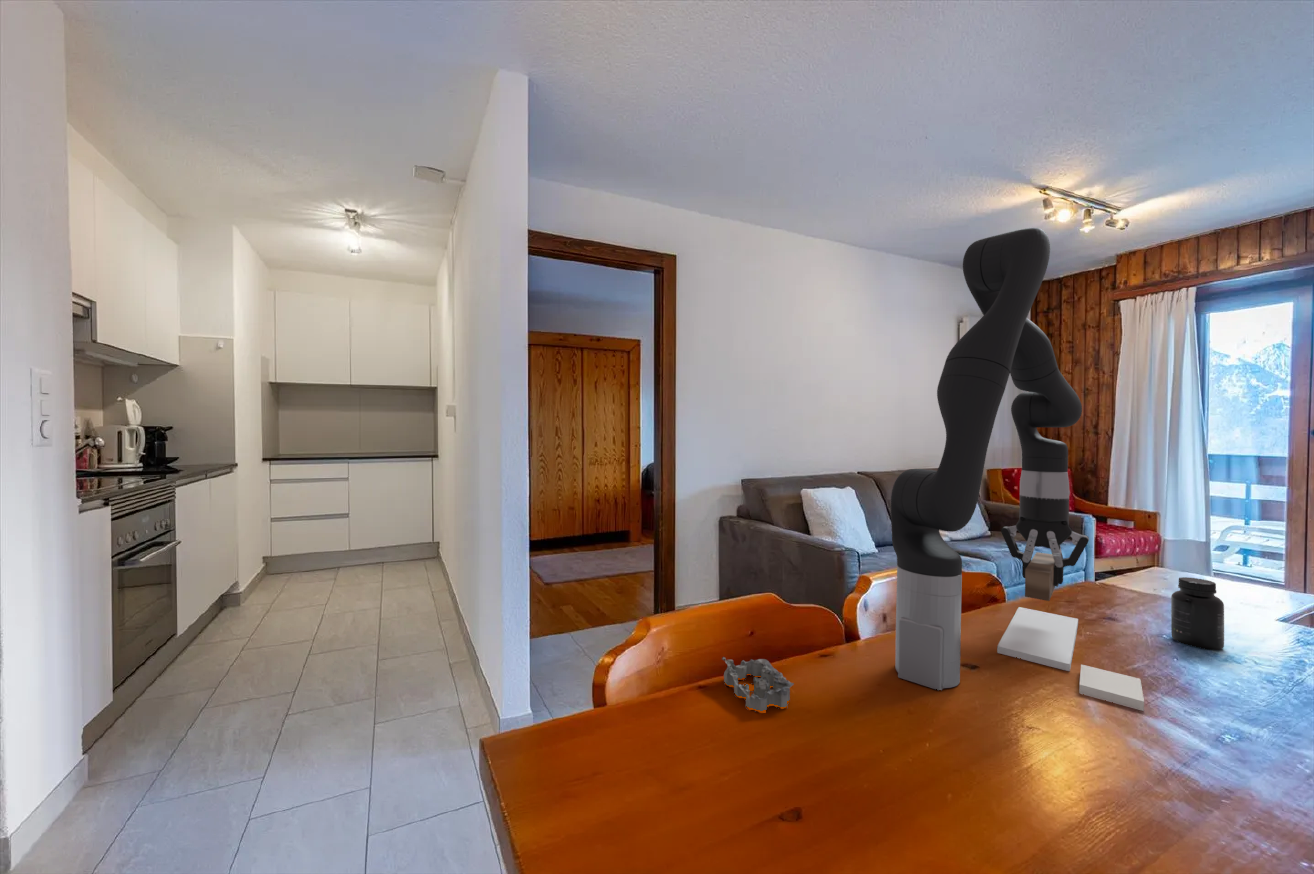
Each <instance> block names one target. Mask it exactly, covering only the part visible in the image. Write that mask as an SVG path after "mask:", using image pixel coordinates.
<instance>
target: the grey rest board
mask: <svg viewBox="0 0 1314 874" xmlns="http://www.w3.org/2000/svg"><path fill="white" fill-rule="evenodd" d="M1078 627H1079V618H1076V617H1071V616H1066V615H1061V614H1056V613H1051V612H1045V611H1041V610H1036V609H1032V608H1031V609H1030V608H1026V607H1020V606H1018V608H1017V609H1016V611H1015V614H1014V615H1013V617H1012V618H1011V620H1010V622H1009V624H1008V626H1007V628H1006V629H1005V631H1004V633H1003V635H1002V637H1001V638H1000V640H999V642H998V644H997V647H996V648H997V650H996V651H997V652H996V653H997V654H999V655H1000V654H1002V655H1005V656H1009V657H1012V658H1016V657H1017V658H1016V659H1020V658H1021V659H1020V660H1024V661H1028V662H1032V663H1036V664H1039V665H1044V666H1047V667H1050V668H1051V667H1052V668H1055V669H1059V670H1061V671H1062V670H1063V671H1067V672H1070V671H1071V669H1072V663H1073V662H1072V661H1073V654H1074V651H1075V645H1076V638H1077V633H1078Z"/></svg>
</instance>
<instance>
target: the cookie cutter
mask: <svg viewBox="0 0 1314 874" xmlns="http://www.w3.org/2000/svg"><path fill="white" fill-rule="evenodd" d="M721 660H722V661H723V662H725V664H726V665H727V667H726V669H725V671H724V673H723V683H724V682H725V683H726V684H727V685H733V686H734V688H733V691H734V692H733V694H734V693H735V694H736V695H737V696H742V697H746V700H745V707H746V706H747V707H749V708H753V709H756V710H760V711H763V710H767V709H768V708H767V705H769V704H774V705H778V706H780V707H786V706H787V707H788V704H787V701H789V700H790V701H791V698H790V697H791V695H790V694H791V689H790V688H792V686H794V685H795V683H794V682H791V681H790V680H788V679H787V677H785V676H784V675H783V673H782V672H780V671H778V670H777V668H774V666H773V665H772V664H771V662H770V661H769V660H768V659H765V658H758V659H752V658H751V659H750V660H749V661H745V660H744V659H743V660H741V661H740V664H738V665H735V663H734V660H733V659H727V658H726V657H725V656H722V657H721ZM747 674H751V675H753V676H761V677H760V678H758V677H753V676H752V677H753V680H752V682H753V684H754V691H753V693H751V695H750V692H751V691H750V690H749V685H748V684H746V683H745V684H746V685H745V686H744V684H741V683H740V684H739V681H738V678H740V679H742V678H746V679H747V676H746V675H747ZM751 675H750V676H751ZM725 683H724V684H725ZM770 686H773V688H772V689H771V688H770Z"/></svg>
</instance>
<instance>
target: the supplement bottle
mask: <svg viewBox="0 0 1314 874" xmlns="http://www.w3.org/2000/svg"><path fill="white" fill-rule="evenodd" d="M1177 587H1178V589H1179V590H1177V591H1174V592H1172V594H1171V596H1170V605H1171V606H1170V607H1171V608H1170V612H1171V613H1170V614H1171V617H1170V619H1171V620H1170V621H1171V622H1170V624H1171V625H1170V631H1171V632H1170V634H1171V638H1172V639H1173V640H1175V641H1176V642H1177V643H1180V644H1181V645H1184V646H1189V647H1191V648H1196V649H1201V650H1209V651H1212V650H1213V651H1220V650H1222V649H1224V647H1225V604H1224V602H1223V600H1222V599H1220V598H1219V597H1218V596H1216V595H1215V594H1217V588H1216V587H1217V583H1216V582H1214V581H1212V580H1207V579H1204V578H1203V579H1202V578H1197V577H1196V578H1195V577H1182V576H1181V577H1179V578H1178V585H1177Z"/></svg>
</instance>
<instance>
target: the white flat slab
mask: <svg viewBox="0 0 1314 874" xmlns="http://www.w3.org/2000/svg"><path fill="white" fill-rule="evenodd" d="M1078 689H1079V690H1078V692H1079V694H1081V695H1083V694H1084V695H1083V696H1087V697H1091V698H1095V699H1099V700H1101V701H1105V700H1106V702H1110V703H1112V702H1113V704H1117V705H1120V706H1124V707H1128V708H1132V709H1134V710H1139V711H1142V712H1144V711H1145V699H1144V694H1143V693H1144V692H1143V688H1142V681H1141V678H1138V677H1135V676H1130V675H1126V674H1123V673H1118V672H1115V671H1110V670H1105V669H1102V668H1098V667H1093V666H1089V665H1085V664H1080V675H1079V688H1078Z"/></svg>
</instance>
